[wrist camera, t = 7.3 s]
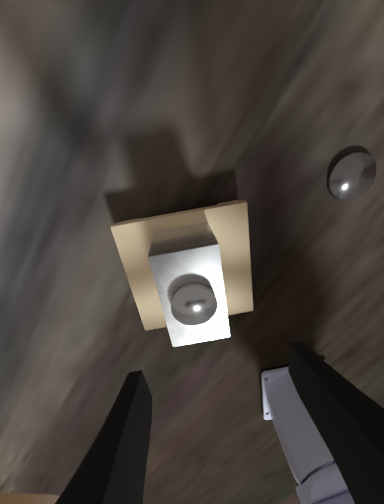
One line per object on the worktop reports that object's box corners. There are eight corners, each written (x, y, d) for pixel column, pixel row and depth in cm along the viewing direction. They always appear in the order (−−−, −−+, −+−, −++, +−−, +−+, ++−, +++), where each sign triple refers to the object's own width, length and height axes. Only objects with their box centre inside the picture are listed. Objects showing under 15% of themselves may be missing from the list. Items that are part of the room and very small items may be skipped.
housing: (207, 221, 16) (221, 248, 12) (218, 298, 19) (232, 343, 15) (154, 231, 16) (146, 262, 12) (173, 306, 19) (173, 354, 15)
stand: (246, 297, 22) (253, 310, 20) (147, 315, 22) (145, 330, 20) (239, 196, 18) (247, 202, 16) (116, 219, 18) (110, 226, 16)
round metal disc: (363, 195, 19) (370, 197, 18) (322, 201, 19) (328, 203, 18) (372, 149, 17) (381, 149, 17) (327, 155, 17) (334, 155, 16)
